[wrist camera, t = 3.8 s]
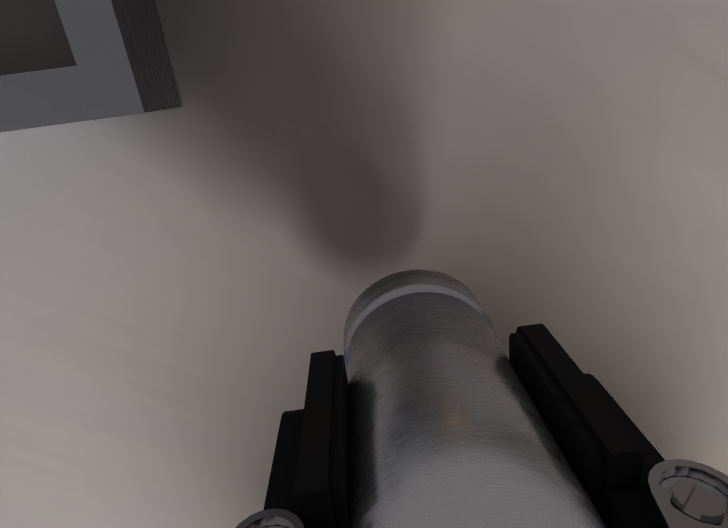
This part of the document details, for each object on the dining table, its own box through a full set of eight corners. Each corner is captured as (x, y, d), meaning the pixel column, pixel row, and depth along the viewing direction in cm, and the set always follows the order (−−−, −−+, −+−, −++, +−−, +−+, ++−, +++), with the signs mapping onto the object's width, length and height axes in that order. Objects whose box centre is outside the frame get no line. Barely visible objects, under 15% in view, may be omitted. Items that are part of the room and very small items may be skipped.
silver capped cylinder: (481, 257, 13) (861, 753, 3) (484, 379, 14) (746, 939, 5) (334, 277, 13) (303, 818, 3) (354, 395, 14) (369, 981, 5)
